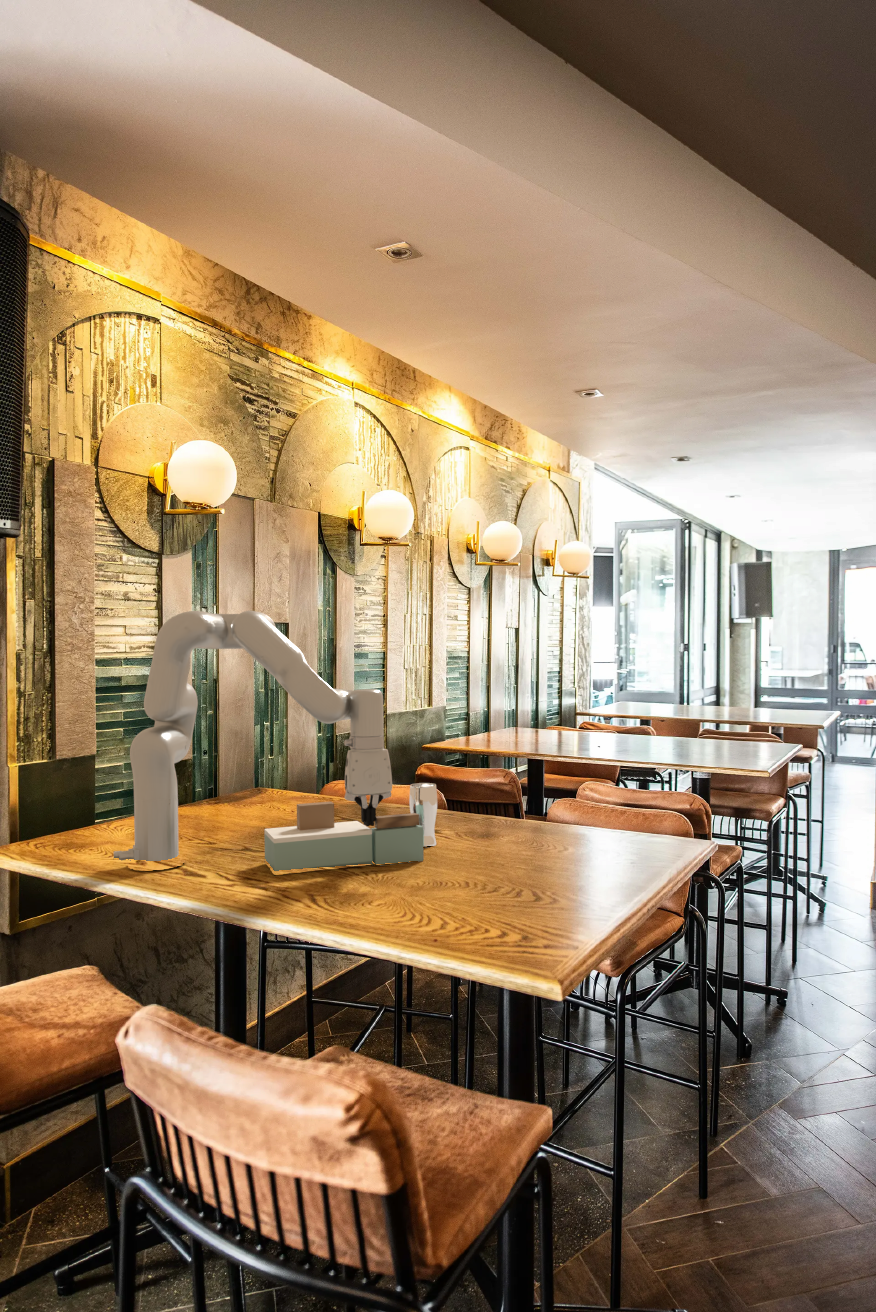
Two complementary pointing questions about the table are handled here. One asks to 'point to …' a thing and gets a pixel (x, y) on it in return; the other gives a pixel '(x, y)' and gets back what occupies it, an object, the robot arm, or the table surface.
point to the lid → (316, 825)
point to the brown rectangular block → (397, 820)
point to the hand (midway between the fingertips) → (368, 824)
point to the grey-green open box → (348, 849)
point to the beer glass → (425, 809)
